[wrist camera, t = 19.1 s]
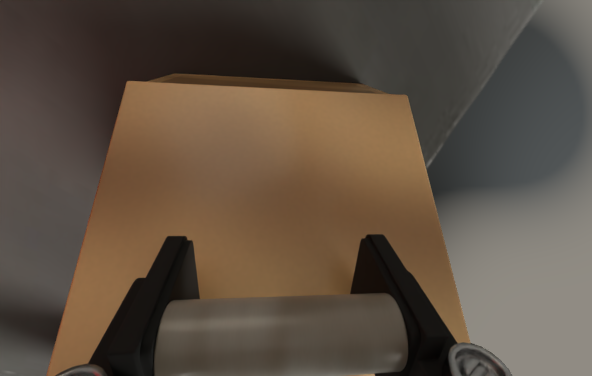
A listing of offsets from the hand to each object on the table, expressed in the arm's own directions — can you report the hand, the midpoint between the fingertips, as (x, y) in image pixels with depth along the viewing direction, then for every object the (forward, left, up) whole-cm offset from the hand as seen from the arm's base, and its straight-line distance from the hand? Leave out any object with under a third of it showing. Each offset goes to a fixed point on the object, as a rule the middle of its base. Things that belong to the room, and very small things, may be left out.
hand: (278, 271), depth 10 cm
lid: (0, 0, -4) cm, 4 cm away
